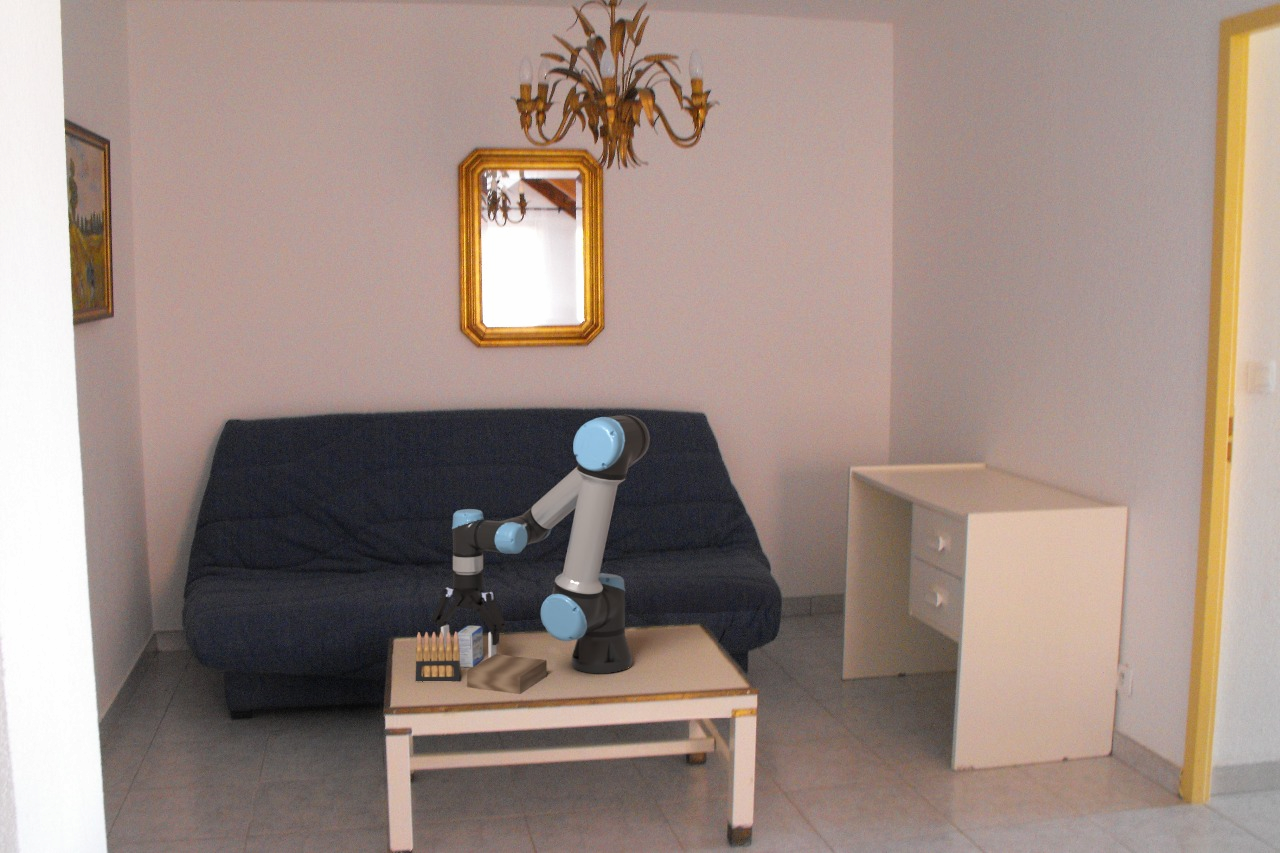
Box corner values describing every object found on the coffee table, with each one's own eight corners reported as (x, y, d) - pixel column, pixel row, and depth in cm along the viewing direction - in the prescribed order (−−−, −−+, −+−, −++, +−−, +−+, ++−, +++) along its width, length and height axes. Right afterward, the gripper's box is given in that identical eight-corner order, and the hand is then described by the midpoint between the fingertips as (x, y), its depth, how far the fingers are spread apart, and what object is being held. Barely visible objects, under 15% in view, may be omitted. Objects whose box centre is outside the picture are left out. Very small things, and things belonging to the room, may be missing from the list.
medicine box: (472, 668, 279) (472, 634, 279) (455, 667, 280) (455, 633, 280) (483, 659, 287) (482, 625, 286) (466, 658, 288) (466, 625, 287)
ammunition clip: (461, 678, 271) (460, 630, 270) (460, 681, 269) (459, 632, 268) (416, 679, 270) (415, 630, 269) (415, 682, 269) (414, 633, 268)
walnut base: (546, 676, 273) (546, 660, 272) (520, 693, 260) (519, 676, 259) (495, 670, 278) (495, 654, 277) (467, 686, 265) (466, 670, 264)
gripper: (519, 572, 281) (519, 655, 283) (433, 564, 290) (433, 644, 292) (505, 578, 274) (505, 663, 276) (417, 570, 283) (418, 652, 285)
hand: (468, 654), depth 284 cm, fingers open, 13 cm apart
